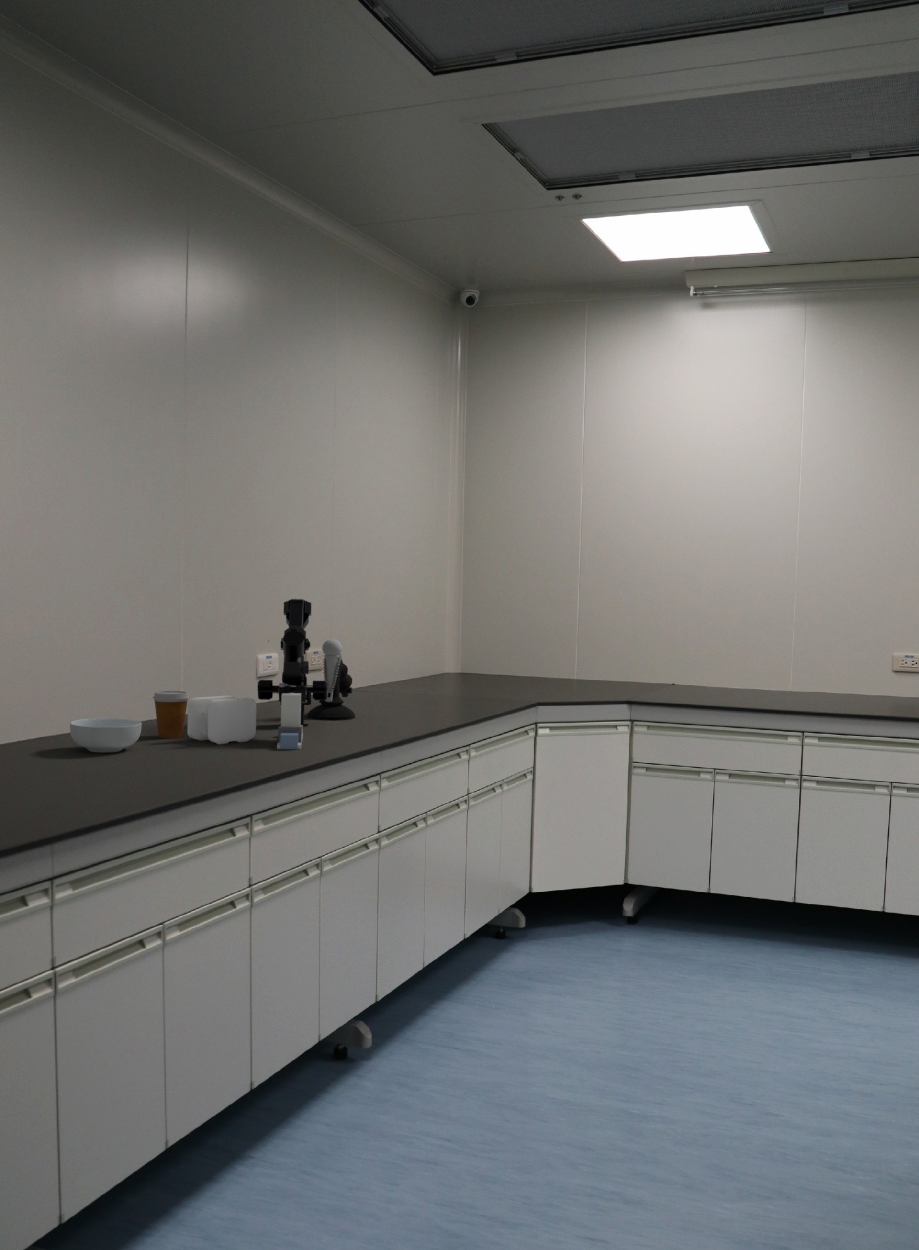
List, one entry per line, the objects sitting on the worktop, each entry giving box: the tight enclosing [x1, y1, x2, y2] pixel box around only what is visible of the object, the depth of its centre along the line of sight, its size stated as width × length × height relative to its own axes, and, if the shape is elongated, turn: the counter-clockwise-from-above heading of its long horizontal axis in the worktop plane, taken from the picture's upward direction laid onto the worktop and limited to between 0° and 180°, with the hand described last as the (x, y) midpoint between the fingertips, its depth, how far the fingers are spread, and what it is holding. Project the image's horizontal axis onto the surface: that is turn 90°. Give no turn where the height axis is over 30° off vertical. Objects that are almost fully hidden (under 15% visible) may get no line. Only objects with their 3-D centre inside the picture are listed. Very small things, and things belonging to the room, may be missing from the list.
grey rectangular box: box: [280, 693, 301, 726], centre depth 278 cm, size 5×5×12 cm
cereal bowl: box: [69, 717, 143, 754], centre depth 259 cm, size 17×17×7 cm
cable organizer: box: [186, 695, 257, 745], centre depth 278 cm, size 15×11×12 cm
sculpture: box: [306, 638, 356, 721], centre depth 337 cm, size 15×24×25 cm, turn 170°
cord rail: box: [276, 725, 304, 750], centre depth 279 cm, size 24×6×5 cm, turn 7°
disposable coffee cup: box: [152, 690, 190, 739], centre depth 283 cm, size 10×10×12 cm
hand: (291, 714), depth 281 cm, fingers closed, pressing on grey rectangular box
